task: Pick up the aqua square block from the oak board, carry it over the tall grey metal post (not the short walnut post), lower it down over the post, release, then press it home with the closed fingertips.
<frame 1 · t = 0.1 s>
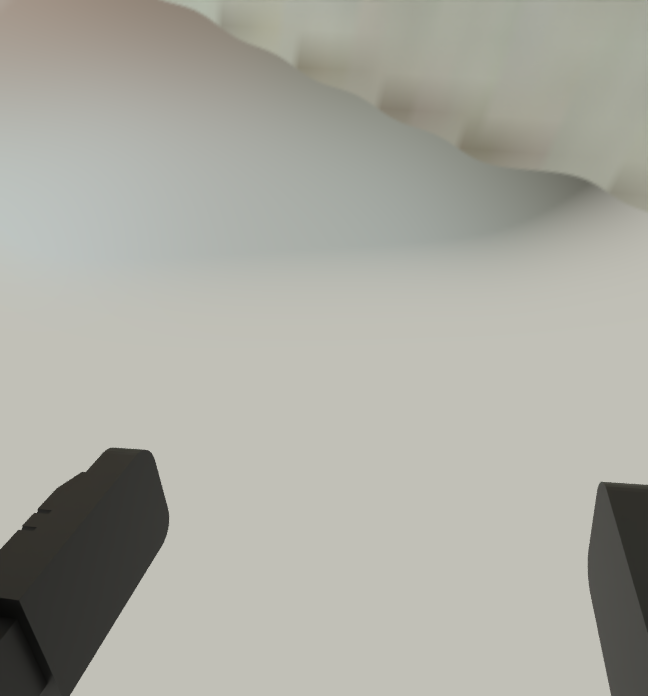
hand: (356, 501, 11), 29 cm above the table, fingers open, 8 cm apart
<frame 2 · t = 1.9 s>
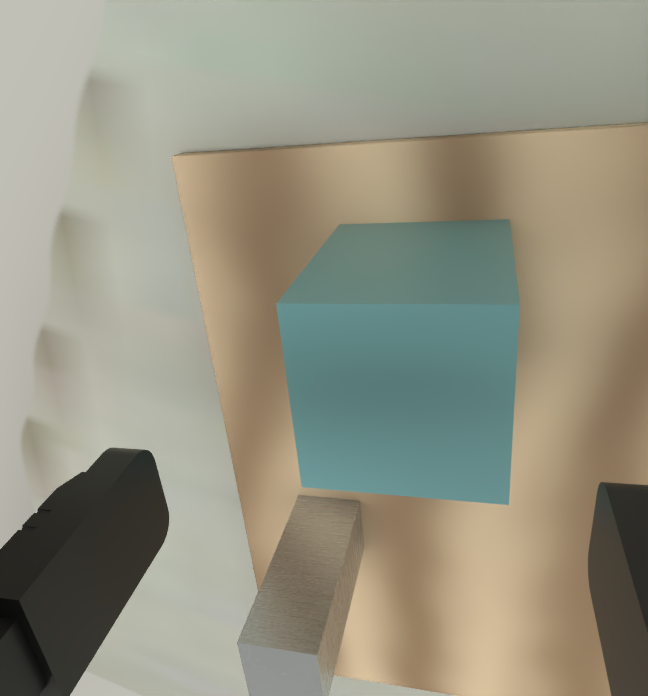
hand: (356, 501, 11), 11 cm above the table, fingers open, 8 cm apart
grey post: (334, 512, 25), resting on oak board
oak board: (428, 472, 23), on the table
aqua square block: (423, 300, 20), point 1 cm above the table, touching oak board
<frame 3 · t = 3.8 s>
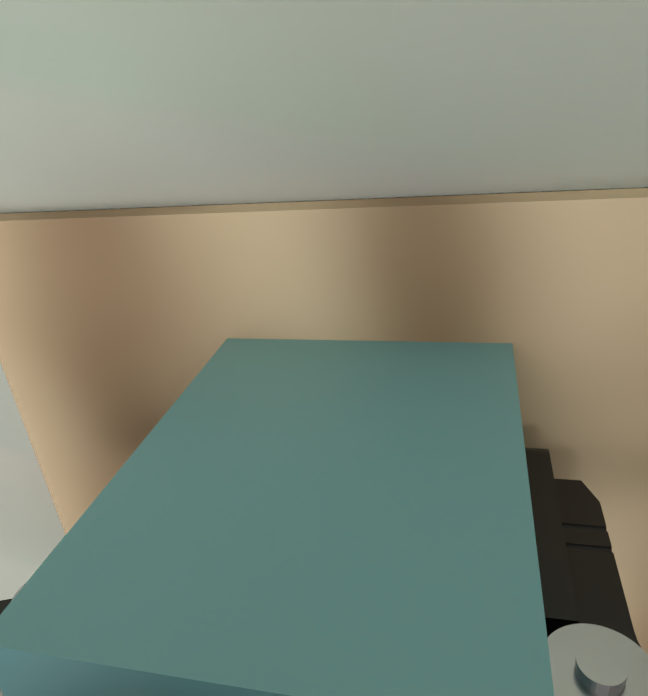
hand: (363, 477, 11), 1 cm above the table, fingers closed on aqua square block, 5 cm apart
oak board: (389, 672, 16), on the table
aqua square block: (369, 457, 12), point 1 cm above the table, touching gripper, oak board
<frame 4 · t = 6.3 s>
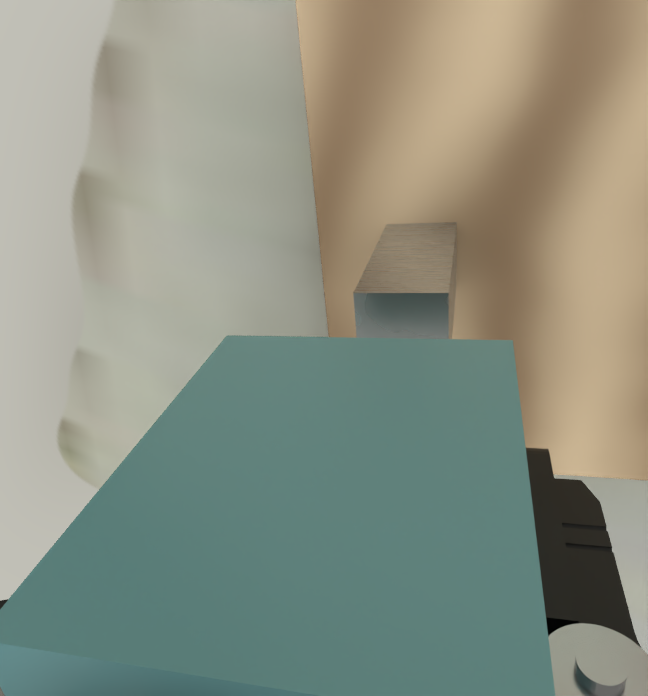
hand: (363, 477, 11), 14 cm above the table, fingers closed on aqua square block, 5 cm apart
grey post: (423, 251, 23), resting on oak board
oak board: (534, 182, 21), on the table
aqua square block: (369, 454, 12), point 13 cm above the table, touching gripper
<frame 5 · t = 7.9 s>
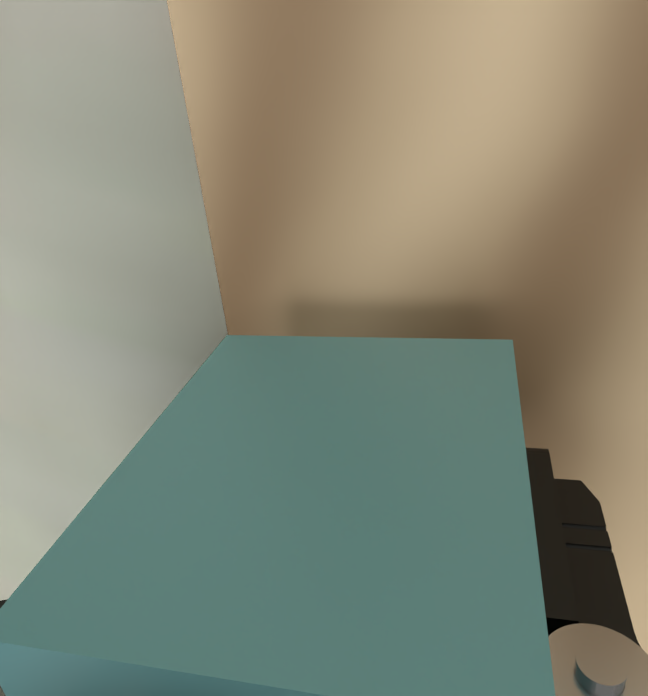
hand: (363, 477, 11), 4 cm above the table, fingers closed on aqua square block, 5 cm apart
oak board: (576, 281, 13), on the table
aqua square block: (369, 454, 12), point 3 cm above the table, touching gripper
when the fingers open (4 cm above the table, at t = 8.9 s): aqua square block drops 1 cm, resting on grey post.
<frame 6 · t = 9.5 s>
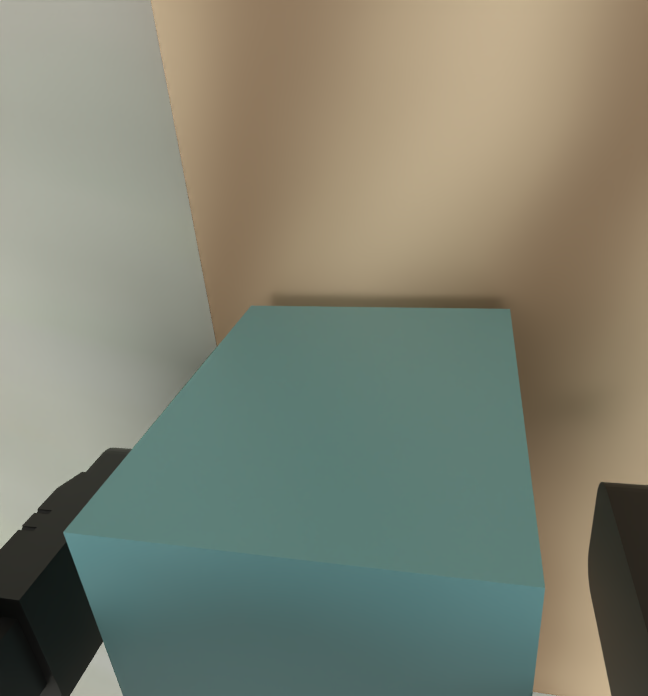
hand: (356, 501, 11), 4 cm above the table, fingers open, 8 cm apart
oak board: (573, 284, 12), on the table
aqua square block: (379, 416, 13), point 2 cm above the table, touching grey post
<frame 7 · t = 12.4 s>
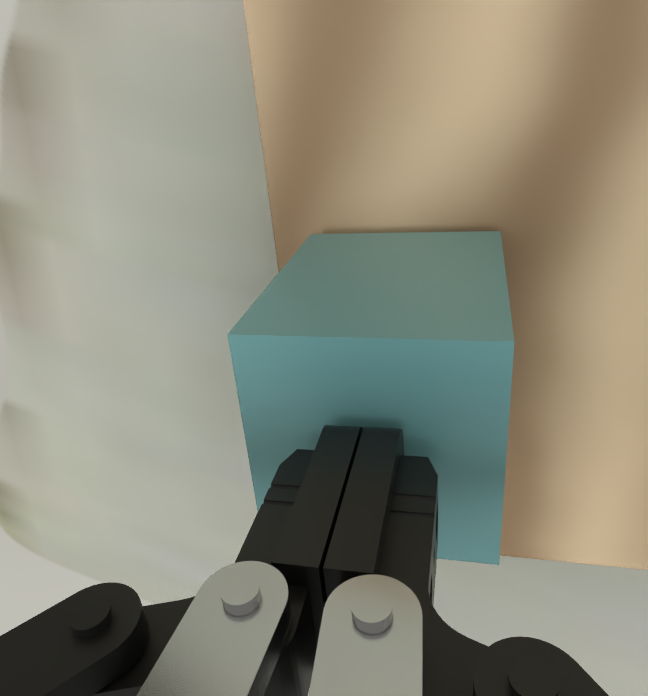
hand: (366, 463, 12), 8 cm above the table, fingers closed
oak board: (547, 218, 17), on the table
aqua square block: (404, 318, 18), point 2 cm above the table, touching grey post
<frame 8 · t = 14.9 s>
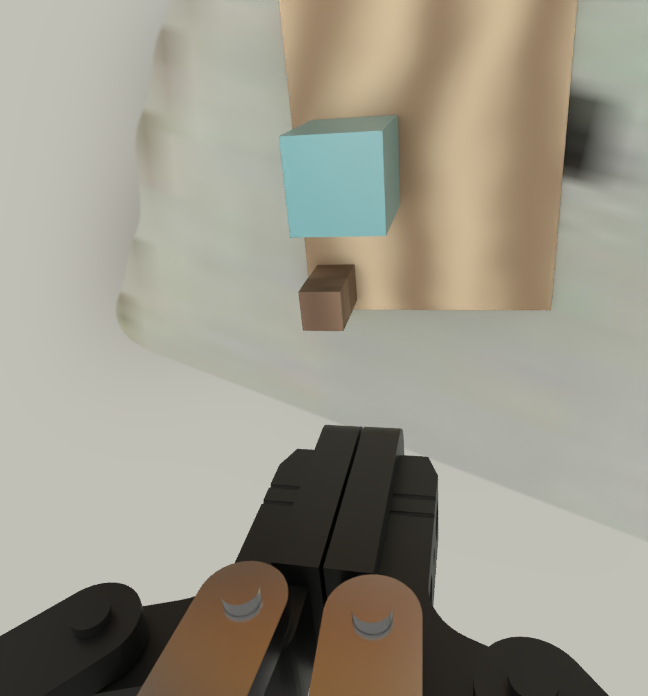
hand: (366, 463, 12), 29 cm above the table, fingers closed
walnut post: (339, 279, 42), resting on oak board
oak board: (423, 112, 35), on the table
aqua square block: (356, 163, 36), point 2 cm above the table, touching grey post
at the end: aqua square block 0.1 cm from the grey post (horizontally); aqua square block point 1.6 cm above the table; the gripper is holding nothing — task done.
